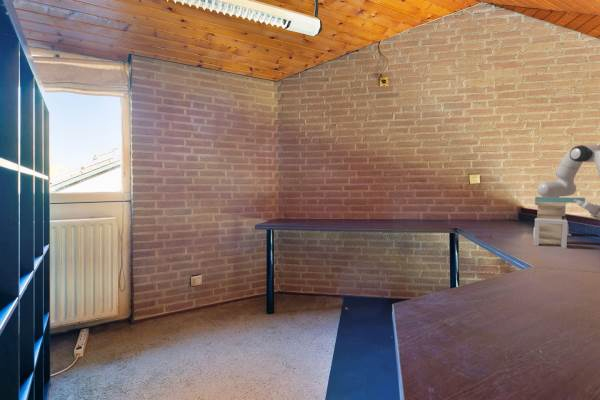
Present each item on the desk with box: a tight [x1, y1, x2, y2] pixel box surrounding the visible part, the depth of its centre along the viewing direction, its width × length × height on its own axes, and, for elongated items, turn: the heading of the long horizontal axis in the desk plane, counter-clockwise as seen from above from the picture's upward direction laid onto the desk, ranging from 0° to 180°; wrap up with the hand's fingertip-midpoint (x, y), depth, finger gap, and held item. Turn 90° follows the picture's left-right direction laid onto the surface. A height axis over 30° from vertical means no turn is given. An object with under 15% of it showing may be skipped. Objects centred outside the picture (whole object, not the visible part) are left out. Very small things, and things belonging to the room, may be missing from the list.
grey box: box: [533, 217, 569, 249], centre depth 189 cm, size 8×15×16 cm, turn 54°
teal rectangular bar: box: [534, 196, 586, 204], centre depth 196 cm, size 3×24×3 cm, turn 54°
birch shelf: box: [534, 201, 567, 245], centre depth 199 cm, size 8×15×26 cm, turn 54°
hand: (573, 199), depth 192 cm, fingers closed on teal rectangular bar, 3 cm apart
